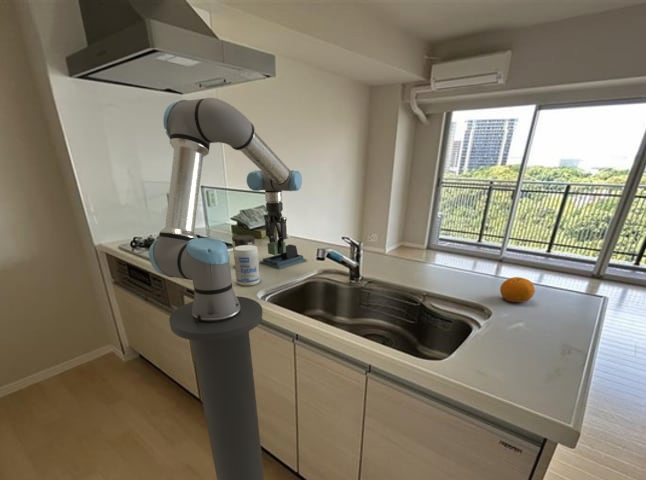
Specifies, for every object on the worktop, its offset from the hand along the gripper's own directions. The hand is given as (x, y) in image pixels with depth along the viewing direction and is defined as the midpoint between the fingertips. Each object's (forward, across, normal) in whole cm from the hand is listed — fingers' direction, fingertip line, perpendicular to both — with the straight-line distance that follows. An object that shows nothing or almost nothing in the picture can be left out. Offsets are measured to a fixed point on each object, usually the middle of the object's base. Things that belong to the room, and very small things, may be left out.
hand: (277, 252), depth 162 cm
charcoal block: (+4, 0, -8) cm, 9 cm away
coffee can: (+6, +8, +13) cm, 16 cm away
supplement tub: (+6, -12, +26) cm, 29 cm away
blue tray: (+6, 0, -4) cm, 7 cm away
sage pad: (0, 0, 0) cm, 0 cm away
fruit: (+6, -98, -27) cm, 102 cm away
